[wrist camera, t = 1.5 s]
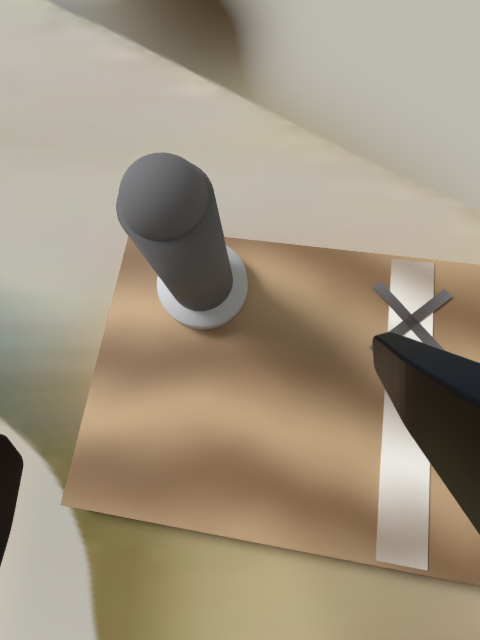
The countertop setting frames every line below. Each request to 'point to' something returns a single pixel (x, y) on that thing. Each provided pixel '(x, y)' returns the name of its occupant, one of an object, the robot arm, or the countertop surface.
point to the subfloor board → (280, 410)
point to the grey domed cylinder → (182, 240)
